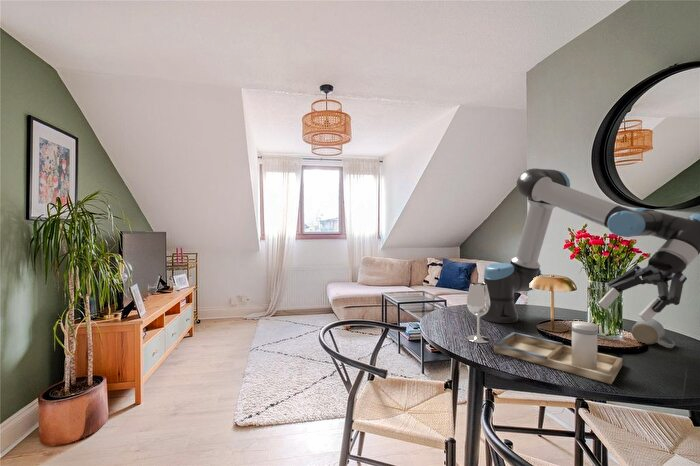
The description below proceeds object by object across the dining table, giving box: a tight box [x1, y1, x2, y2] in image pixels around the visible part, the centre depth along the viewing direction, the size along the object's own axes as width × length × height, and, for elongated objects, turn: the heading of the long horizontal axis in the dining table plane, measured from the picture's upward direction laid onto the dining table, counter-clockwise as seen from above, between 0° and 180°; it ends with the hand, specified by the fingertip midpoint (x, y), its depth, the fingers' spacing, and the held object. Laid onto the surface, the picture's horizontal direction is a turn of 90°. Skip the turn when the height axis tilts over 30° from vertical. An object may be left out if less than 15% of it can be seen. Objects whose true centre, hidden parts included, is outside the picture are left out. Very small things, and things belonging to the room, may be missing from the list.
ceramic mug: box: [631, 318, 676, 349], centre depth 113 cm, size 11×8×8 cm
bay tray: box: [493, 331, 623, 385], centre depth 101 cm, size 30×16×3 cm, turn 43°
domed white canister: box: [571, 320, 599, 370], centre depth 95 cm, size 6×6×12 cm
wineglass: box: [466, 282, 491, 344], centre depth 118 cm, size 8×8×20 cm
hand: (620, 312), depth 95 cm, fingers open, 13 cm apart
